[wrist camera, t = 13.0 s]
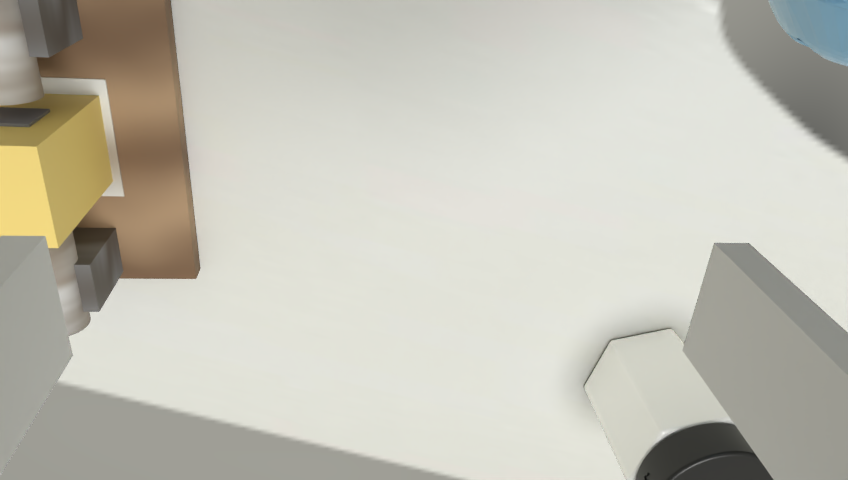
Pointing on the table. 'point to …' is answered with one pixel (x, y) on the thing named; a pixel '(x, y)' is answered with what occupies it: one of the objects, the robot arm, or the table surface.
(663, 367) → the jar
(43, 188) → the yellow rectangular block
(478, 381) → the table surface
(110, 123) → the shaft base
